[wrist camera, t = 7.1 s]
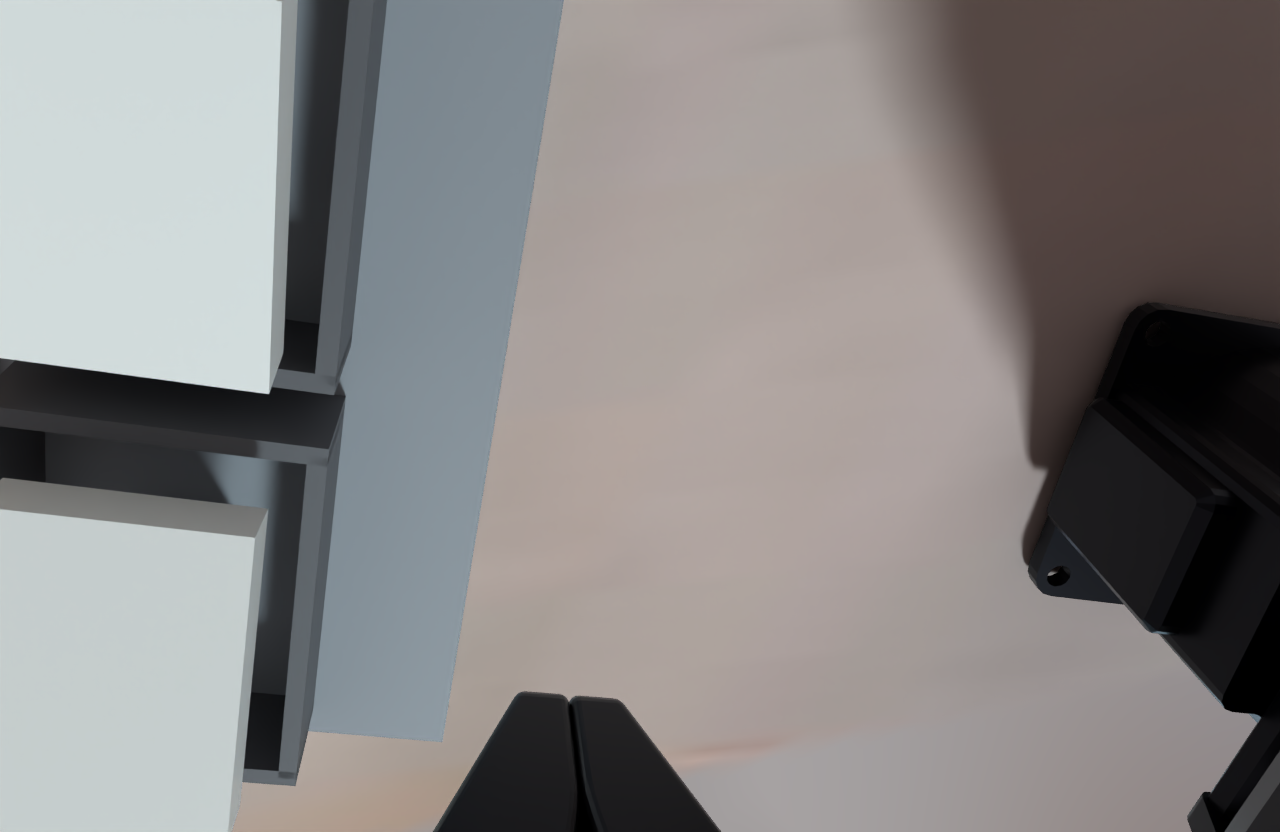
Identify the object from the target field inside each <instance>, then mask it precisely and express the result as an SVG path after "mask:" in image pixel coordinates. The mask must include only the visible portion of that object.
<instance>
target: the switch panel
mask: <svg viewBox="0 0 1280 832" xmlns="http://www.w3.org/2000/svg"><path fill="white" fill-rule="evenodd" d="M563 2H564V0H298V6H297V31H296V55H295V80H294V104H293V129H292V153H291V178H290V202H289V227H288V251H287V276H286V300H285V324H284V349H283V355H282V358H281V361H280V364H279V367H278V370H277V373H276V375H275V378H274V381H273V384H272V387H271V390H270V393H269V394H264V393H256V392H249V391H242V390H234V389H227V388H219V387H212V386H204V385H197V384H190V383H182V382H175V381H167V380H160V379H152V378H145V377H138V376H130V375H123V374H115V373H108V372H101V371H93V370H86V369H78V368H71V367H63V366H56V365H49V364H41V363H34V362H26V361H19V360H11V359H4V358H0V480H1V479H2V478H10V479H19V480H27V481H36V482H44V483H53V484H61V485H70V486H78V487H87V488H95V489H104V490H113V491H121V492H130V493H138V494H147V495H155V496H164V497H172V498H181V499H190V500H198V501H207V502H215V503H224V504H232V505H241V506H249V507H258V508H266V509H268V517H267V528H266V538H265V549H264V559H263V570H262V580H261V591H260V601H259V612H258V622H257V633H256V643H255V654H254V664H253V675H252V685H251V696H250V706H249V717H248V727H247V738H246V748H245V759H244V769H243V780H242V782H249V783H262V784H276V785H289V786H295V785H296V781H297V776H298V772H299V768H300V764H301V759H302V755H303V751H304V747H305V742H306V738H307V734H308V731H315V732H327V733H339V734H351V735H363V736H376V737H388V738H400V739H412V740H424V741H436V742H442V740H443V734H444V728H445V722H446V716H447V710H448V704H449V698H450V691H451V685H452V679H453V673H454V667H455V661H456V655H457V649H458V643H459V636H460V630H461V624H462V618H463V612H464V606H465V600H466V594H467V588H468V582H469V575H470V569H471V563H472V557H473V551H474V545H475V539H476V533H477V527H478V521H479V514H480V508H481V502H482V496H483V490H484V484H485V478H486V472H487V466H488V459H489V453H490V447H491V441H492V435H493V429H494V423H495V417H496V411H497V405H498V398H499V392H500V386H501V380H502V374H503V368H504V362H505V356H506V350H507V344H508V337H509V331H510V325H511V319H512V313H513V307H514V301H515V295H516V289H517V282H518V276H519V270H520V264H521V258H522V252H523V246H524V240H525V234H526V228H527V221H528V215H529V209H530V203H531V197H532V191H533V185H534V179H535V173H536V166H537V160H538V154H539V148H540V142H541V136H542V130H543V124H544V118H545V112H546V105H547V99H548V93H549V87H550V81H551V75H552V69H553V63H554V57H555V51H556V44H557V38H558V32H559V26H560V20H561V14H562V8H563Z"/></svg>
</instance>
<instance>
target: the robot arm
mask: <svg viewBox="0 0 1280 832" xmlns="http://www.w3.org/2000/svg"><path fill="white" fill-rule="evenodd" d="M1156 322H1160V327H1159V330H1158V331H1157V333H1156V334H1155V335H1154V336H1152V337H1150V338H1148V339H1145V336H1146V331H1147V330H1148V328H1149V327H1150V326H1151V325H1152V324H1154V323H1156ZM1047 512H1048V517H1047V519H1046V522H1045V525H1044V527H1043V530H1042V532H1041V535H1040V537H1039V540H1038V542H1037V545H1036V547H1035V550H1034V552H1033V555H1032V557H1031V560H1030V562H1029V567H1028V573H1029V576H1030V579H1031V580H1032V581H1033V583H1034V584H1035V585H1036V586H1037V588H1038V589H1039V590H1040V591H1041V592H1042V593H1043V594H1047V595H1050V596H1056V597H1065V598H1073V599H1082V600H1090V601H1099V602H1107V603H1116V604H1124V605H1125V606H1126V607H1127V608H1128V610H1129V611H1130V612H1131V613H1132V614H1133V615H1134V616H1135V618H1136V619H1137V620H1138V621H1139V622H1140V623H1141V624H1142V626H1143V627H1144V628H1145V629H1146V630H1148V631H1149V632H1151V633H1158V634H1159V635H1160V636H1161V637H1162V638H1163V639H1164V640H1165V642H1166V643H1167V644H1168V645H1169V646H1170V647H1171V648H1172V650H1173V651H1174V652H1175V653H1176V654H1177V655H1178V656H1179V657H1180V659H1181V660H1182V661H1183V662H1184V663H1185V664H1186V665H1187V667H1188V668H1189V669H1190V670H1191V671H1192V672H1193V673H1194V674H1195V676H1196V677H1197V678H1198V679H1199V680H1200V681H1201V682H1202V683H1203V685H1204V686H1205V687H1206V688H1207V689H1208V690H1209V691H1210V693H1211V694H1212V695H1213V696H1214V697H1215V698H1216V699H1217V700H1218V702H1219V703H1220V704H1221V705H1222V706H1223V707H1224V708H1225V709H1226V710H1229V711H1232V712H1239V713H1249V714H1250V716H1251V717H1252V718H1253V719H1254V720H1255V721H1256V722H1257V725H1256V726H1255V727H1254V729H1253V730H1252V732H1251V733H1250V735H1249V736H1248V738H1247V739H1246V741H1245V742H1244V744H1243V745H1242V747H1241V749H1240V750H1239V751H1238V753H1237V754H1236V756H1235V758H1234V759H1233V760H1232V762H1231V763H1230V765H1229V766H1228V768H1227V769H1226V771H1225V772H1224V774H1223V775H1222V777H1221V778H1220V780H1219V782H1218V783H1217V784H1216V786H1215V787H1214V789H1213V790H1212V792H1204V793H1203V794H1202V795H1201V796H1200V798H1199V799H1198V801H1197V802H1196V804H1195V806H1194V807H1193V808H1192V810H1191V812H1190V813H1189V815H1188V816H1187V817H1188V822H1189V825H1190V828H1191V831H1192V832H1280V324H1278V323H1272V322H1267V321H1261V320H1255V319H1249V318H1243V317H1238V316H1232V315H1226V314H1220V313H1215V312H1209V311H1203V310H1197V309H1191V308H1186V307H1180V306H1174V305H1168V304H1162V303H1146V304H1144V305H1141V306H1139V307H1137V308H1136V309H1135V310H1134V311H1133V312H1131V313H1130V314H1129V316H1128V318H1127V319H1126V321H1125V322H1124V325H1123V327H1122V330H1121V332H1120V335H1119V337H1118V340H1117V343H1116V345H1115V348H1114V350H1113V353H1112V355H1111V358H1110V360H1109V363H1108V365H1107V368H1106V370H1105V373H1104V375H1103V378H1102V380H1101V383H1100V385H1099V388H1098V391H1097V393H1096V396H1095V398H1094V401H1093V402H1092V403H1091V404H1090V405H1089V406H1088V407H1087V409H1086V412H1085V414H1084V417H1083V419H1082V422H1081V424H1080V427H1079V429H1078V432H1077V434H1076V437H1075V440H1074V442H1073V445H1072V447H1071V450H1070V452H1069V455H1068V457H1067V460H1066V462H1065V465H1064V467H1063V470H1062V473H1061V475H1060V478H1059V480H1058V483H1057V485H1056V488H1055V490H1054V493H1053V495H1052V498H1051V500H1050V503H1049V505H1048V509H1047ZM1057 566H1062V567H1061V569H1060V570H1059V571H1058V572H1057V573H1056V574H1054V575H1051V576H1048V573H1049V572H1050V571H1051V570H1052V569H1053V568H1055V567H1057ZM433 832H721V831H720V830H719V828H718V827H717V826H716V824H715V823H714V822H713V820H712V819H711V818H710V817H709V815H708V814H707V813H706V811H705V810H704V809H703V807H702V806H701V805H700V803H699V802H698V801H697V799H695V797H694V796H693V794H692V793H691V792H690V790H689V789H688V788H687V786H686V785H685V784H684V782H683V781H682V780H681V778H680V777H679V776H678V774H677V773H676V772H675V771H674V769H673V768H672V767H671V765H670V764H669V763H668V761H667V760H666V759H665V757H664V756H663V755H662V753H661V752H660V751H659V750H658V748H657V747H656V746H655V744H654V743H653V742H652V740H651V739H650V738H649V736H648V735H647V734H646V733H645V731H644V730H643V729H642V727H641V726H640V725H639V723H638V722H637V721H636V719H635V718H634V717H633V715H632V714H631V713H630V712H629V710H628V709H627V708H626V706H625V705H624V704H623V703H622V702H621V701H619V700H618V699H613V698H602V697H589V696H575V697H573V698H572V699H571V700H570V702H568V700H567V698H566V697H565V696H563V695H561V694H552V693H540V692H527V691H524V692H520V693H518V694H517V695H516V696H515V697H514V699H513V701H512V702H511V704H510V705H509V707H508V709H507V710H506V712H505V714H504V715H503V717H502V719H501V720H500V722H499V724H498V725H497V727H496V729H495V730H494V732H493V734H492V735H491V737H490V738H489V740H488V742H487V743H486V745H485V747H484V748H483V750H482V752H481V753H480V755H479V757H478V758H477V760H476V762H475V763H474V765H473V767H472V768H471V770H470V771H469V773H468V775H467V776H466V778H465V780H464V781H463V783H462V785H461V786H460V788H459V790H458V791H457V793H456V795H455V796H454V798H453V800H452V801H451V803H450V804H449V806H448V808H447V809H446V811H445V813H444V814H443V816H442V818H441V819H440V821H439V823H438V824H437V826H436V828H435V829H434V831H433Z"/></svg>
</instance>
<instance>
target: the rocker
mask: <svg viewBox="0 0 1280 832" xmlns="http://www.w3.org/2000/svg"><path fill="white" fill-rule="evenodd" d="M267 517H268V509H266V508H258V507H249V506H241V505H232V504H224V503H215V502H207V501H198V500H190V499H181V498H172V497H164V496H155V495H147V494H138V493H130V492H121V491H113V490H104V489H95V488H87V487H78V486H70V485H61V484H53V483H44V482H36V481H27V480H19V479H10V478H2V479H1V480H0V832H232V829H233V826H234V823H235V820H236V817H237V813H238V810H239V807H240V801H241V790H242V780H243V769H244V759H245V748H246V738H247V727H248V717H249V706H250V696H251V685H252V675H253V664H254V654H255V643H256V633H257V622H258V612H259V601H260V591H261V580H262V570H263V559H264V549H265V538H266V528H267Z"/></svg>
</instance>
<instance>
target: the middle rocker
mask: <svg viewBox="0 0 1280 832" xmlns="http://www.w3.org/2000/svg"><path fill="white" fill-rule="evenodd" d="M297 6H298V0H0V358H4V359H11V360H19V361H26V362H34V363H41V364H49V365H56V366H63V367H71V368H78V369H86V370H93V371H101V372H108V373H115V374H123V375H130V376H138V377H145V378H152V379H160V380H167V381H175V382H182V383H190V384H197V385H204V386H212V387H219V388H227V389H234V390H242V391H249V392H256V393H264V394H269V393H270V390H271V387H272V384H273V381H274V378H275V375H276V373H277V370H278V367H279V364H280V361H281V358H282V355H283V349H284V324H285V300H286V276H287V251H288V227H289V202H290V178H291V153H292V129H293V104H294V80H295V55H296V31H297Z"/></svg>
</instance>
